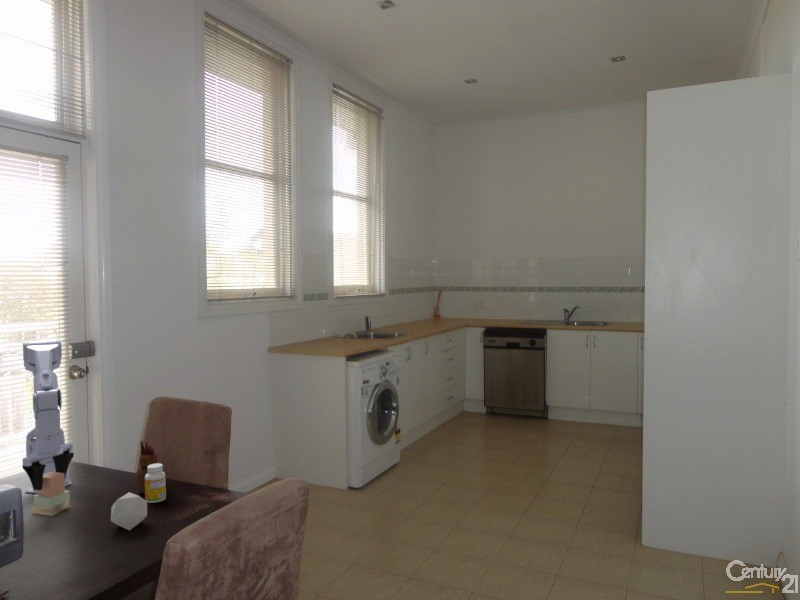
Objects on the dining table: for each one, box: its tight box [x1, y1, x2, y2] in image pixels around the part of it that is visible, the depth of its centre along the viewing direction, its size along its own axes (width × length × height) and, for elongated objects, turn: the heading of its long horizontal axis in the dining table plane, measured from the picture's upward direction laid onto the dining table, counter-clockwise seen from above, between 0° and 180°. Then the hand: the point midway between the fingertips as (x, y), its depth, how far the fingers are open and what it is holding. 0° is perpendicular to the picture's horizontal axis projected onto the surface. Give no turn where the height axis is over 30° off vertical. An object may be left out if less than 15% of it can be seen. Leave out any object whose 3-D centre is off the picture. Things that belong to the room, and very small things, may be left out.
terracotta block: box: [36, 472, 66, 497], centre depth 159 cm, size 4×4×5 cm
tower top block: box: [33, 489, 71, 508], centre depth 159 cm, size 6×6×2 cm
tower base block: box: [32, 500, 70, 517], centre depth 159 cm, size 6×6×2 cm
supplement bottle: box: [144, 462, 167, 504], centre depth 166 cm, size 5×5×10 cm
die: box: [110, 491, 148, 532], centre depth 149 cm, size 8×9×10 cm
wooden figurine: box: [135, 440, 158, 494], centre depth 172 cm, size 7×6×15 cm
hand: (49, 484), depth 159 cm, fingers open, 7 cm apart
